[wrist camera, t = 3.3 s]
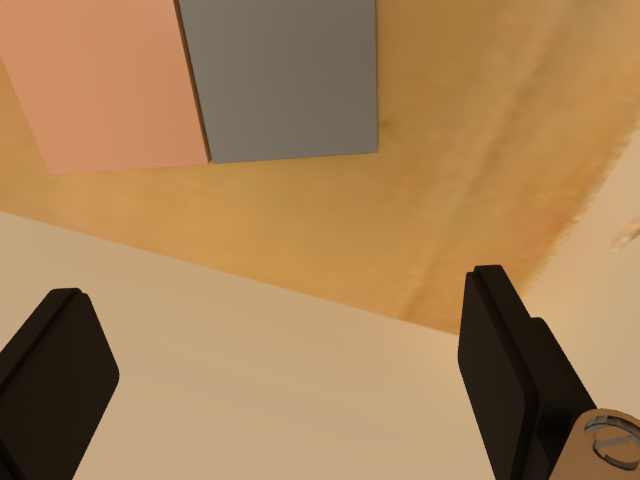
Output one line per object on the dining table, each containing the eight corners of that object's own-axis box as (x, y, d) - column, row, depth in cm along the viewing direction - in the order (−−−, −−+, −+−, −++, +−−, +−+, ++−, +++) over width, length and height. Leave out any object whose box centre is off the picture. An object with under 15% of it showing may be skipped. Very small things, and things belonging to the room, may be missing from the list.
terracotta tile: (172, -23, 33) (167, -22, 32) (210, 159, 40) (208, 164, 39) (-16, -6, 34) (-24, -5, 33) (55, 170, 41) (49, 175, 40)
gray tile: (373, -41, 32) (374, -41, 32) (376, 148, 40) (377, 152, 39) (177, -24, 33) (173, -23, 32) (215, 159, 40) (213, 164, 39)
